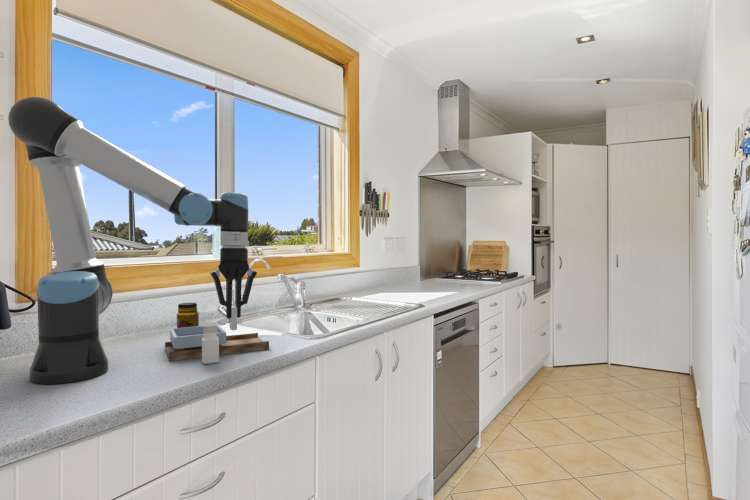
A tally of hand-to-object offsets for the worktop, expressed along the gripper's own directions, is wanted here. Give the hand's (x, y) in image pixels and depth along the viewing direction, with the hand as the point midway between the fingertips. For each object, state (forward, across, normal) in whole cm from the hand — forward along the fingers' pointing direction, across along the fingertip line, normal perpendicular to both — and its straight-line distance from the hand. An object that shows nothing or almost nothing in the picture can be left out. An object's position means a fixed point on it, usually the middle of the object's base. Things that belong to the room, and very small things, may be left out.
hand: (233, 329), depth 131 cm
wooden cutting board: (+5, -4, 0) cm, 7 cm away
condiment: (+6, -10, +13) cm, 18 cm away
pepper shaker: (+6, -8, -13) cm, 16 cm away
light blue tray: (+4, -10, 0) cm, 11 cm away
